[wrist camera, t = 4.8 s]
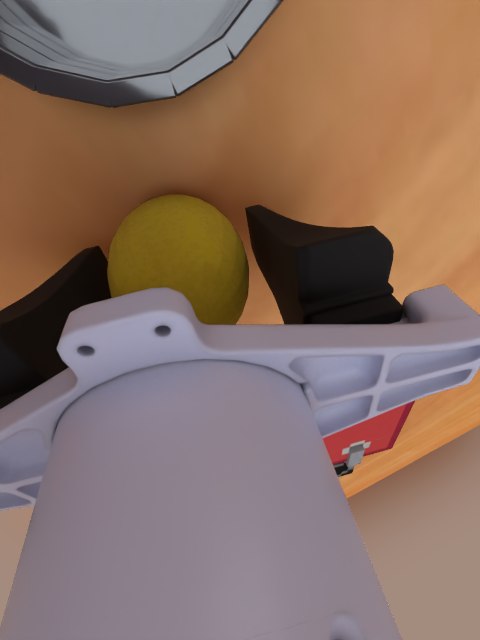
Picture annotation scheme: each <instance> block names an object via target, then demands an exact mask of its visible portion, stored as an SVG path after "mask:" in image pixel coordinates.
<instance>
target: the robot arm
mask: <svg viewBox="0 0 480 640" xmlns="http://www.w3.org/2000/svg"><path fill="white" fill-rule="evenodd" d="M245 210H246V216H247V222H248V228H249V234H250V239H251V245H252V249H253V252H254V255H255V258H256V261H257V264H258V266H259V268H260V270H261V272H262V274H263V276H264V278H265V279H266V281H267V283H268V285H269V287H270V289H271V291H272V293H273V295H274V297H275V299H276V302H277V305H278V307H279V310H280V313H281V316H282V318H283V321H284V324H285V325H206V324H203V323H201V322H200V321H199V320H198V319H197V317H196V315H195V313H194V310H193V308H192V305H191V303H190V302H189V301H188V300H187V298H186V297H185V296H184V295H183V294H182V293H180V292H178V291H175V290H173V289H170V288H150V289H146V290H142V291H138V292H134V293H130V294H126V295H122V296H119V297H115V298H112V297H111V292H110V288H109V283H108V276H107V268H108V261H107V259H106V257H105V255H104V254H103V252H102V250H101V249H100V247H99V246H95V247H91V248H87V249H85V250H83V251H81V252H80V253H79V254H77V255H76V256H75V257H74V258H72V259H71V260H70V261H69V262H68V263H67V264H66V265H64V266H63V267H62V268H61V269H60V270H59V271H58V272H56V273H55V274H54V275H53V276H52V277H50V278H49V279H48V280H47V281H45V282H44V283H43V284H42V285H40V286H39V287H38V288H36V289H35V290H34V291H32V292H31V293H29V294H28V295H26V296H25V297H23V298H22V299H20V300H19V301H17V302H15V303H13V304H12V305H10V306H8V307H6V308H4V309H3V310H1V311H0V511H1V510H8V509H14V508H21V507H29V506H34V510H33V513H32V517H31V520H30V524H29V528H28V531H27V535H26V538H25V542H24V545H23V549H22V552H21V556H20V559H19V563H18V567H17V570H16V573H15V577H14V581H13V584H12V588H11V591H10V595H9V598H8V602H7V606H6V609H5V612H4V616H3V620H2V623H1V627H0V640H402V638H401V636H400V633H399V630H398V628H397V625H396V623H395V620H394V618H393V615H392V613H391V610H390V608H389V605H388V602H387V601H386V598H385V595H384V593H383V590H382V587H381V585H380V582H379V580H378V578H377V575H376V572H375V570H374V567H373V565H372V562H371V560H370V557H369V555H368V552H367V550H366V547H365V544H364V542H363V539H362V537H361V534H360V532H359V529H358V527H357V524H356V522H355V519H354V517H353V514H352V512H351V509H350V507H349V504H348V502H347V499H346V497H345V494H344V492H343V489H342V487H341V484H340V482H339V479H338V476H337V474H336V471H335V469H334V466H333V464H332V461H331V459H330V456H329V454H328V451H327V449H326V446H325V444H324V441H323V439H322V438H325V437H327V436H329V435H332V434H334V433H337V432H339V431H341V430H344V429H346V428H349V427H351V426H353V425H356V424H358V423H361V422H363V421H365V420H368V419H370V418H373V417H375V416H377V415H380V414H382V413H385V412H387V411H389V410H392V409H394V408H397V407H399V406H402V405H404V404H407V403H409V402H412V401H415V400H417V399H420V398H423V397H426V396H429V395H432V394H435V393H437V392H440V391H444V390H447V389H451V388H454V387H458V386H461V385H465V384H468V383H469V382H470V381H471V380H472V378H473V377H474V375H475V374H476V372H477V371H478V369H479V368H480V315H479V314H478V313H477V312H475V311H474V310H473V309H472V308H471V307H470V306H468V305H467V304H466V303H465V302H464V301H463V300H462V299H460V298H459V297H458V296H457V295H456V294H455V293H453V292H452V291H451V290H450V289H449V288H448V287H447V286H445V285H444V284H443V285H438V286H434V287H430V288H427V289H423V290H419V291H415V292H413V293H411V294H409V295H408V296H407V297H406V298H405V300H404V302H403V305H401V304H400V303H399V302H398V301H397V300H396V298H395V297H394V296H393V295H392V294H391V293H393V287H392V286H391V285H390V284H389V283H388V279H389V275H390V270H391V266H392V261H393V252H394V251H393V247H392V244H391V242H390V241H389V240H388V239H387V238H386V237H385V236H384V235H383V234H382V233H381V232H380V231H379V230H377V229H376V228H375V227H374V226H364V227H352V228H336V227H323V226H316V225H310V224H306V223H302V222H298V221H295V220H292V219H289V218H286V217H284V216H282V215H279V214H277V213H275V212H273V211H271V210H269V209H267V208H265V207H263V206H261V205H255V206H251V207H247V208H245Z"/></svg>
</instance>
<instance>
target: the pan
mask: <svg viewBox="0 0 480 640" xmlns="http://www.w3.org/2000/svg"><path fill="white" fill-rule="evenodd" d="M282 1H283V0H0V74H2V75H4V76H6V77H8V78H10V79H11V80H13V81H15V82H17V83H19V84H21V85H23V86H25V87H27V88H29V89H31V90H33V91H37V92H38V93H40V94H45V95H50V96H55V97H60V98H65V99H70V100H75V101H80V102H85V103H90V104H94V105H99V106H104V107H109V108H111V107H113V108H116V107H122V106H128V105H134V104H140V103H146V102H152V101H159V100H165V99H171V98H175V97H176V96H180V95H182V94H183V93H185V92H186V91H188V90H190V89H191V88H193V87H194V86H196V85H198V84H199V83H201V82H203V81H204V80H206V79H207V78H209V77H211V76H212V75H214V74H215V73H217V72H219V71H220V70H222V69H223V68H225V67H227V66H228V65H230V64H231V63H233V61H234V60H236V59H237V58H238V57H239V55H240V54H241V53H242V52H243V50H244V49H245V48H246V47H247V45H248V44H249V43H250V42H251V40H252V39H253V38H254V37H255V35H256V34H257V33H258V32H259V30H260V29H261V28H262V27H263V25H264V24H265V23H266V22H267V20H268V19H269V18H270V17H271V15H272V14H273V13H274V12H275V10H276V9H277V8H278V7H279V5H280V4H281V3H282Z"/></svg>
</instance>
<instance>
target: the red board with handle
mask: <svg viewBox="0 0 480 640" xmlns="http://www.w3.org/2000/svg"><path fill="white" fill-rule="evenodd" d="M414 402H415V401H412V402H409V403H407V404H404V405H402V406H399V407H397V408H394V409H392V410H389V411H387V412H385V413H382V414H380V415H377V416H375V417H373V418H370V419H368V420H365V421H363V422H361V423H358V424H356V425H353V426H351V427H349V428H346V429H344V430H341V431H339V432H337V433H334V434H332V435H329V436H327V437H325V438H322V439H323V441H324V444H325V446H326V449H327V451H328V454H329V456H330V459H331V461H332V464H333V466H334V469H335V471H336V474H337V476H338V477H340V476H343V475H347V474H350V473H352V472H353V469H354V466H355V465H357V464H360V463H361V460H362V457H363V456H367V455H370V454H374V453H377V452H381V451H384V450H388V449H391V448H392V447H393V445H394V443H395V441H396V439H397V437H398V435H399V433H400V431H401V429H402V427H403V425H404V423H405V421H406V418H407V416H408V414H409V412H410V410H411V408H412V406H413V404H414Z"/></svg>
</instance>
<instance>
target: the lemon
mask: <svg viewBox="0 0 480 640" xmlns="http://www.w3.org/2000/svg"><path fill="white" fill-rule="evenodd" d="M107 276H108V283H109V288H110V292H111V297H112V298H115V297H119V296H122V295H126V294H130V293H134V292H138V291H142V290H146V289H150V288H170V289H173V290H175V291H178V292H180V293H182V294H183V295H184V296H185V297H186V298H187V300H188V301H189V302H190V303H191V305H192V308H193V310H194V313H195V315H196V317H197V319H198V320H199V321H200V322H201V323H203V324H206V325H235V324H236V323H237V321H238V320H239V318H240V316H241V315H242V312H243V309H244V306H245V303H246V300H247V297H248V288H249V266H248V260H247V257H246V253H245V250H244V246H243V242H242V240H241V238H240V236H239V235H238V233H237V232H236V230H235V229H234V227H233V225H232V224H231V222H230V221H229V220H228V219H227V218H226V217H225V216H224V215H223V214H222V213H221V212H220V211H219V210H218V209H216V208H215V207H214V206H212V205H210V204H208V203H207V202H205V201H203V200H201V199H199V198H195V197H191V196H187V195H163V196H160V197H156V198H152V199H149V200H148V201H146V202H144V203H143V204H141V205H139V206H138V207H136V208H135V209H133V211H132V212H131V213H130V214H129V215H128V216H127V217H126V218H125V219H124V220H123V222H122V223H121V224H120V226H119V228H118V230H117V232H116V234H115V236H114V238H113V240H112V243H111V246H110V250H109V258H108V268H107Z"/></svg>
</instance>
